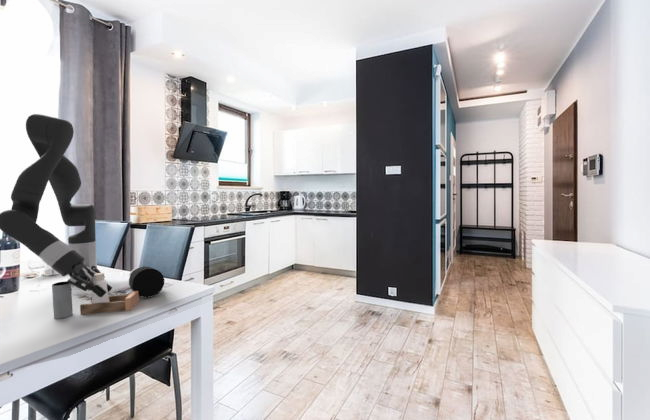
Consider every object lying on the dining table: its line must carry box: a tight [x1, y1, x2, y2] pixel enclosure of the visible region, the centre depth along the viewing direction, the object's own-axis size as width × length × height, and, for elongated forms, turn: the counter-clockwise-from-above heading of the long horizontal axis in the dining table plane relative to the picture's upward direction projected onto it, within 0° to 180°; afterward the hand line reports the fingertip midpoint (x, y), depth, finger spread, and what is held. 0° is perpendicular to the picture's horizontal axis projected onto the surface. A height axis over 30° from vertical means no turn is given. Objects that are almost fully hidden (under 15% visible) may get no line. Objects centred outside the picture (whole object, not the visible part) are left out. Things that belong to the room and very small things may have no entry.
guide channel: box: [79, 290, 140, 315], centre depth 105 cm, size 14×8×4 cm, turn 103°
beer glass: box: [42, 260, 60, 277], centre depth 150 cm, size 7×7×15 cm
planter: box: [51, 280, 74, 320], centre depth 99 cm, size 4×4×10 cm
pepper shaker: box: [91, 272, 110, 303], centre depth 104 cm, size 5×5×11 cm
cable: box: [128, 266, 165, 298], centre depth 127 cm, size 10×34×10 cm, turn 36°
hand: (106, 292), depth 105 cm, fingers closed on pepper shaker, 4 cm apart
